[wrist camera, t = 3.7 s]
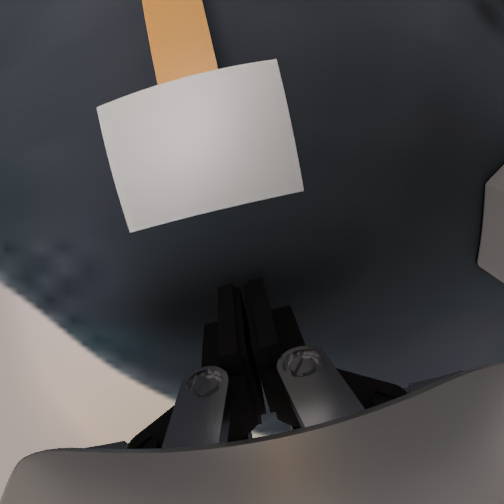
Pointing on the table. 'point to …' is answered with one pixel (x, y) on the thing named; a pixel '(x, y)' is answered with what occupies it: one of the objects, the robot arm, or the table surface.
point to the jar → (493, 227)
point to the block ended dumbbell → (197, 127)
